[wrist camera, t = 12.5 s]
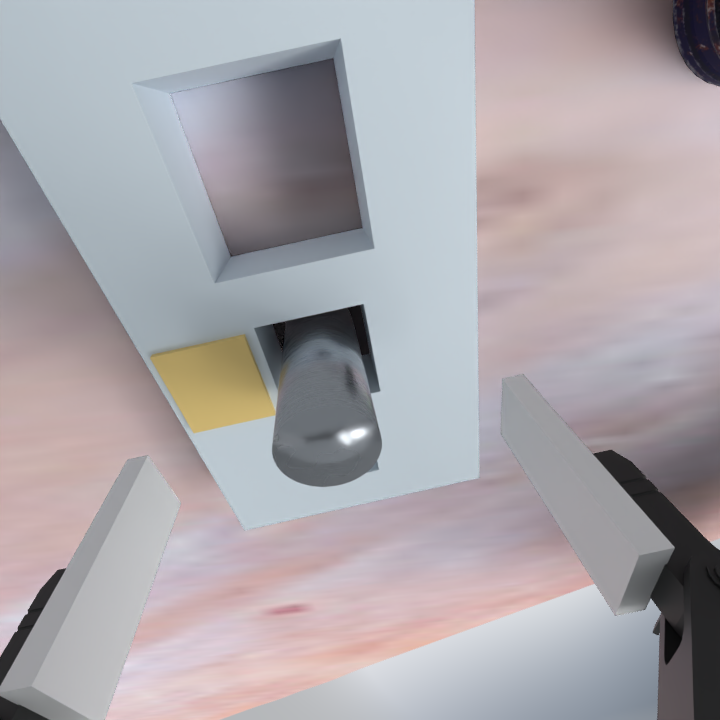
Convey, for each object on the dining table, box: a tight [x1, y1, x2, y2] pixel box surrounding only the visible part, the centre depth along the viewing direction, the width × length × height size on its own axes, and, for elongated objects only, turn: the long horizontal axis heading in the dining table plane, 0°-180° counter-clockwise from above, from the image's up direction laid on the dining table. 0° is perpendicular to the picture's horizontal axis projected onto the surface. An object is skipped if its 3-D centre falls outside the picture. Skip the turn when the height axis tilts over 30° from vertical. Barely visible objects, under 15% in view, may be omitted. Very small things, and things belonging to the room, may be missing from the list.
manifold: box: [0, 0, 480, 530], centre depth 19 cm, size 16×26×4 cm, turn 11°
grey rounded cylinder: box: [272, 308, 382, 487], centre depth 18 cm, size 4×4×10 cm
